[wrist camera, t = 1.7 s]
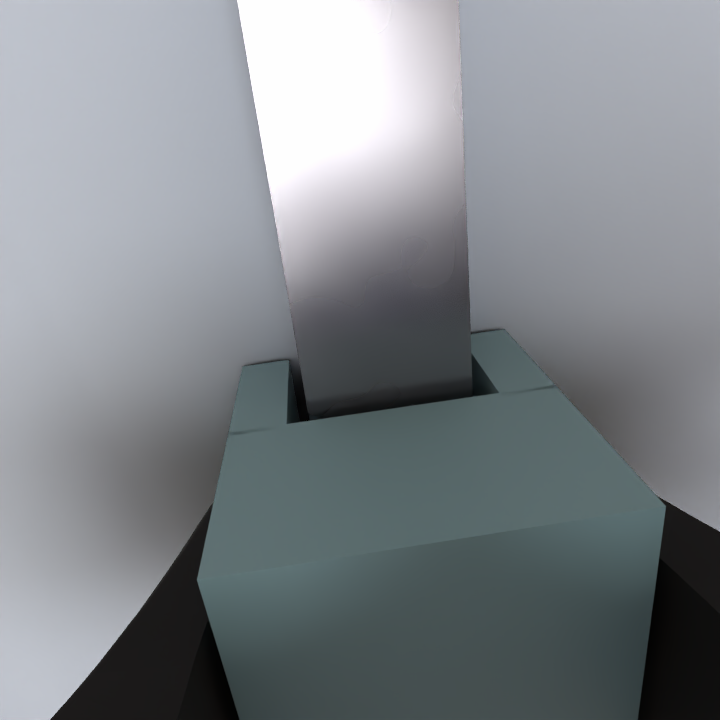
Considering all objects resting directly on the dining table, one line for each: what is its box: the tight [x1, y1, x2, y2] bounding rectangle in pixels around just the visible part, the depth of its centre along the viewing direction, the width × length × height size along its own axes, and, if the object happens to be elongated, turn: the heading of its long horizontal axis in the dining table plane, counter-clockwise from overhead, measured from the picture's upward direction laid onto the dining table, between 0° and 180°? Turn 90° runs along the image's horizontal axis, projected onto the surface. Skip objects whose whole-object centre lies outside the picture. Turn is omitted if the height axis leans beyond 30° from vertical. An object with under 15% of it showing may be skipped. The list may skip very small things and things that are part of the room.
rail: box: [237, 0, 473, 421], centre depth 8 cm, size 4×17×3 cm, turn 7°
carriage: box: [197, 329, 666, 720], centre depth 9 cm, size 5×5×5 cm
